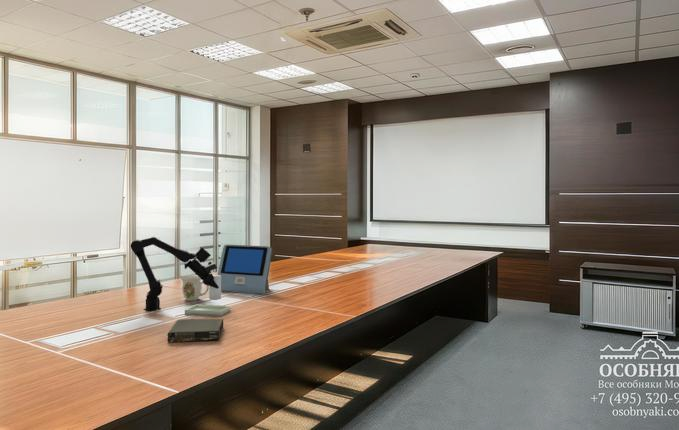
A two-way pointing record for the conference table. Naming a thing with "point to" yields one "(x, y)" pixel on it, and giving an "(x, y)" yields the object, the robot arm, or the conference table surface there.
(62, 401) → the conference table surface
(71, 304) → the conference table surface
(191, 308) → the tray
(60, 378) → the conference table surface
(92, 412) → the conference table surface
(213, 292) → the white rounded capsule
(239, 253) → the touchscreen device
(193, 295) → the pitcher
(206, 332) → the network switch
